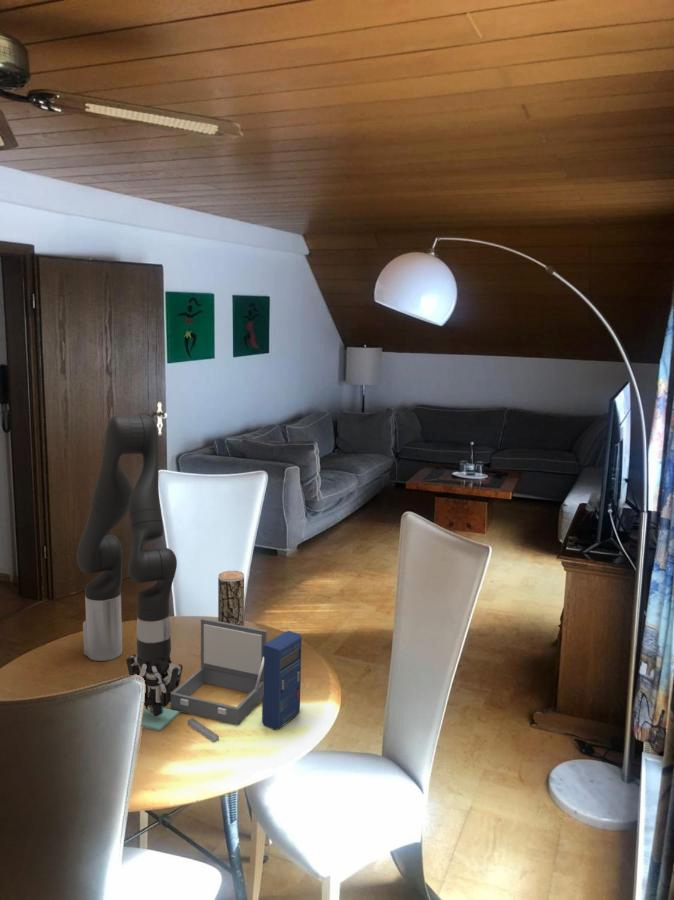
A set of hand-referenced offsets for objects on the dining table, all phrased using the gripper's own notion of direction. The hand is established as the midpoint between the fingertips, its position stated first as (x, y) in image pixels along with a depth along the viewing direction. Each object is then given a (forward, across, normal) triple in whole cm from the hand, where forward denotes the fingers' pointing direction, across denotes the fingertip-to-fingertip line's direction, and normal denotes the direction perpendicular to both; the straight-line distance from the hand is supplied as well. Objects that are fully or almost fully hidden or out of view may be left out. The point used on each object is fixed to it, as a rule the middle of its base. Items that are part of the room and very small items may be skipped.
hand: (154, 702), depth 174 cm
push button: (+2, -1, 0) cm, 2 cm away
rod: (+5, +13, -1) cm, 14 cm away
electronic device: (+4, +27, +11) cm, 30 cm away
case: (+4, +10, +12) cm, 16 cm away
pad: (+4, 0, 0) cm, 4 cm away
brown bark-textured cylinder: (+4, +3, +31) cm, 32 cm away
